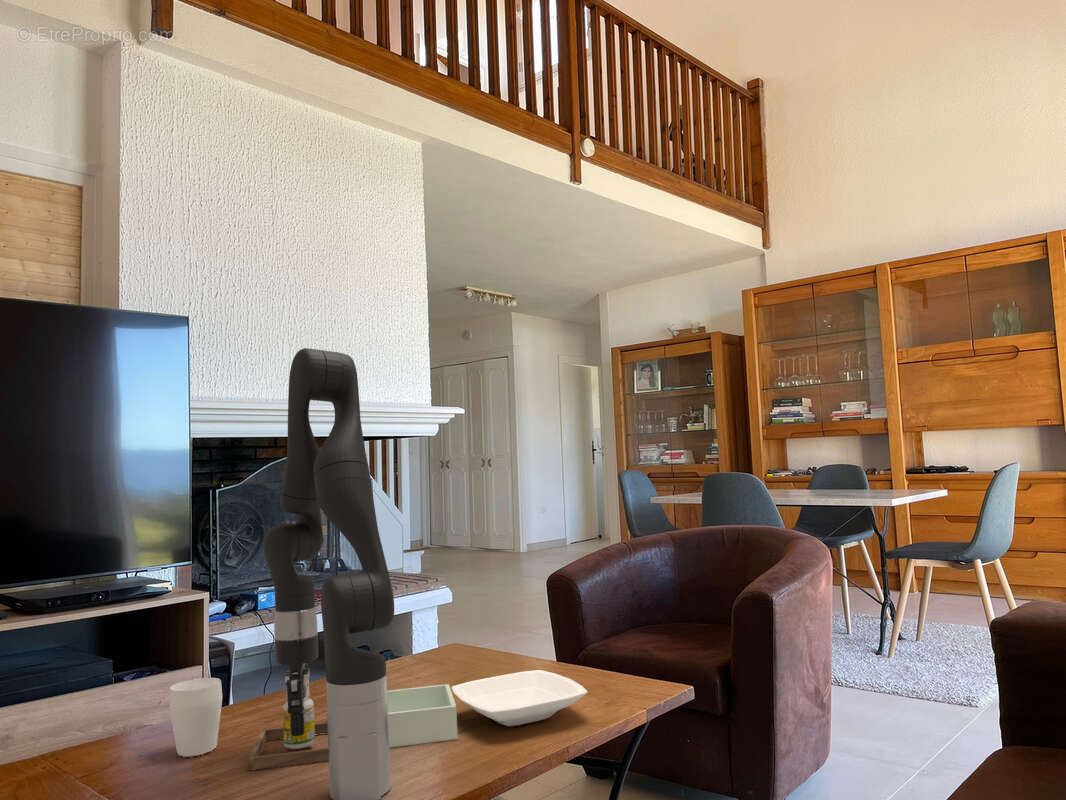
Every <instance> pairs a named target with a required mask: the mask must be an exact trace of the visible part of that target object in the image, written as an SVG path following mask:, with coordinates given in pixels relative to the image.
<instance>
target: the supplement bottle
mask: <svg viewBox="0 0 1066 800" xmlns="http://www.w3.org/2000/svg"><path fill="white" fill-rule="evenodd" d="M286 693H287V690H286V691H285V694H286ZM302 693H303V691H302ZM310 693H311V692H310V687H309V688H308V687H307V698H306V699H305V700H304V708H305V711H304V734H303V735H300V736H292V735H291V718H290V714H288V711H287V709H288V700H287V701H286V702H285V703H283V706H282V716H283V717H282V723H283V726H282V727H284V739H283V744H284V745H283V746H284V747H285V748H286V749H292V750H296V749H303V748H306V747H310V746H311V745H313V744H314V743H315V741H316V735H315V727H314V723H315V705H314V703H315V702H314V701H313V700H312V699H311V698H309V697H310ZM296 705H300V703H299V700H294V701H293V706H296Z"/></svg>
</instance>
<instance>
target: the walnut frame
mask: <svg viewBox="0 0 1066 800" xmlns="http://www.w3.org/2000/svg"><path fill="white" fill-rule="evenodd" d="M314 727H315V734H320V733H328V721H324V722H314ZM280 738H281V740H283V739H282V738H284V726H281V727H272V728H263V729H261V731H260V733H259V736H258V738H257V740H256V742H255V745H254V747H253V749H252V750H251V753H250V755H249V758H248V771H249V770H252V769H253V771H255V770H254V769H261V770H264V769H263V768H269V769H276V768H275V767H277V768H284V767H291V766H290V765H293V766H299V765H298V764H301V765H307V764H306V763H309V764H316V763H315V762H317V763H323V762H324V761H325V762H329V752H328V747H323V748H321V747H319V748H314V749H304V750H298V751H297V750H296V751H290V752H289V751H287V752H283V753H282V752H281V753H273V754H272V753H271V754H263V755H262V753H261V751H262V752H263V750H264V748H263V747H265V746H266V743H267V741H266V740H273V739H280ZM273 741H274V740H273ZM265 742H266V743H265ZM264 745H265V746H264ZM262 749H263V750H262ZM260 754H261V755H260ZM304 763H305V764H304Z"/></svg>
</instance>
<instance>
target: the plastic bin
mask: <svg viewBox="0 0 1066 800" xmlns="http://www.w3.org/2000/svg"><path fill="white" fill-rule="evenodd" d="M387 703H388V729H389V749H390V748H397V747H405V746H413V745H422V744H429V743H431V744H432V743H437V742H439V743H440V742H446V741H454V740H458V739H459V737H458V735H459V734H458V719H457V717H458V715H457V704H456V701H455V698H454V695H453V691H452V688H451V686H450V684H449V683H446V684H435V685H430V686H429V685H427V686H418V687H410V688H398V689H391V690H390V689H389V690H387Z"/></svg>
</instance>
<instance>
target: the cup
mask: <svg viewBox="0 0 1066 800" xmlns="http://www.w3.org/2000/svg"><path fill="white" fill-rule="evenodd" d="M222 691H223V689H222V680H221V679H220V678H216V677H201V678H200V677H199V678H193V679H188V680H183V681H180V682H177V683H175V684H173V685H171V686H170V687H169V701H168V702H169V703H168V706H169V713H170V719H171V725H172V731H173V737H174V738H173V739H174V743H175V748H176V750H175V751H176V754H177V753H178V754H179V755H184V756H191V755H198V754H203V753H206V752H209V751H211V750H213V749H214V748H216V749H217V747H216V746H217V745H218V739H219V730H220V729H219V728H220V721H221V713H222V705H223V704H222V703H223V692H222Z"/></svg>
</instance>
